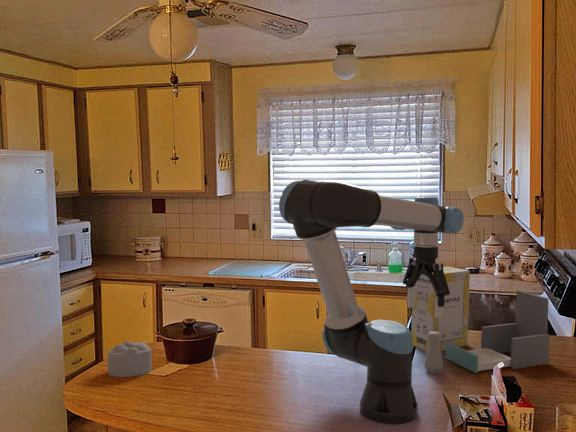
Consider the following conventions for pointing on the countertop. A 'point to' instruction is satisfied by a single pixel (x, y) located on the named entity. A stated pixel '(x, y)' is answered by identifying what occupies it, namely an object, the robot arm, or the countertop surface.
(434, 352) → the salt shaker
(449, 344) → the tray
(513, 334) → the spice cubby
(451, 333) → the pasta box
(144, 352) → the lumpy-topped squat cylinder
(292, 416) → the countertop surface
